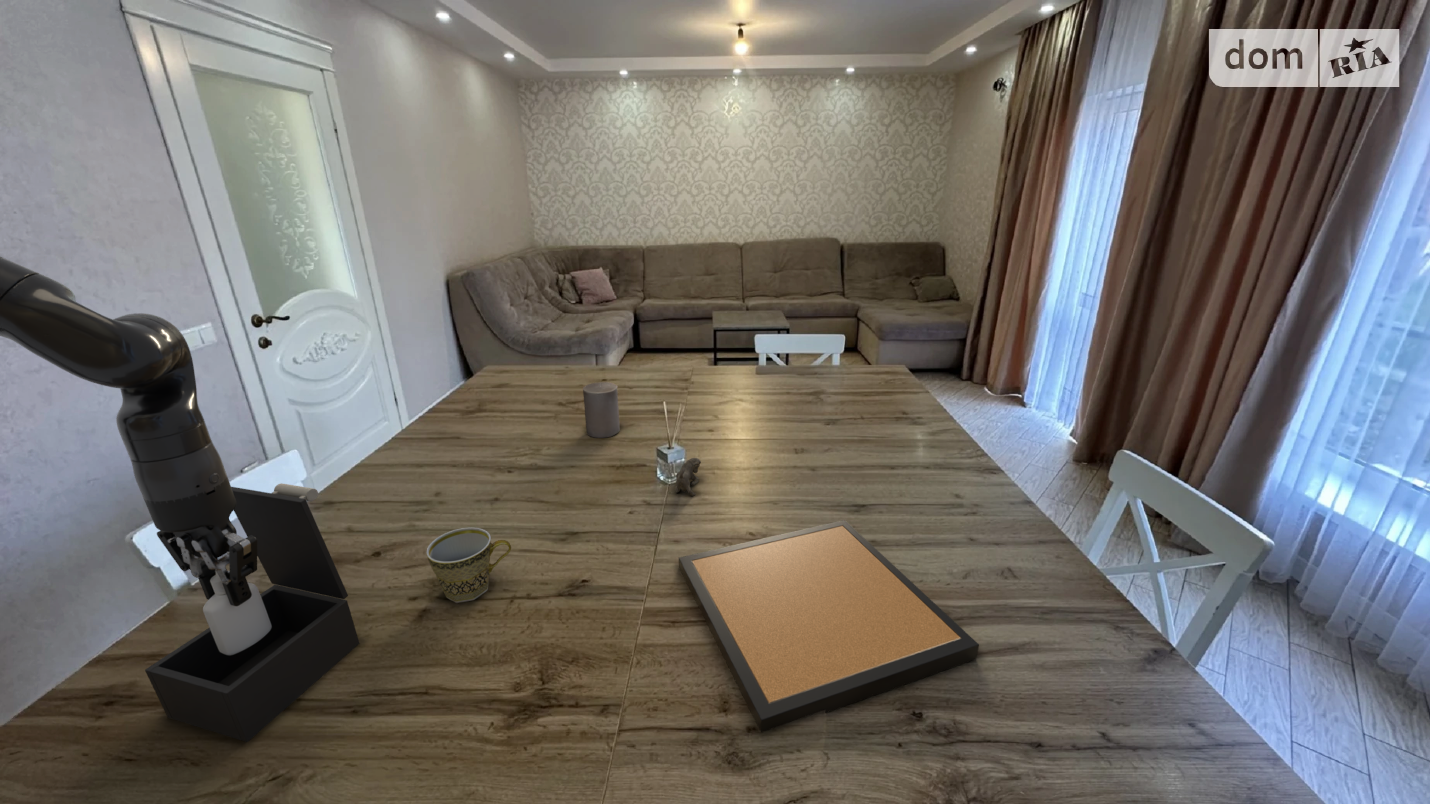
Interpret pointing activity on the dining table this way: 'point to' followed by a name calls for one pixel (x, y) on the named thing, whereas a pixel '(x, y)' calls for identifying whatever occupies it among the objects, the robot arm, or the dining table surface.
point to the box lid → (289, 538)
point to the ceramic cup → (463, 562)
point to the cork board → (818, 621)
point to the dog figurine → (688, 476)
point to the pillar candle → (601, 409)
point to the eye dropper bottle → (235, 619)
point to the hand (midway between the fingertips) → (230, 598)
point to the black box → (256, 665)
